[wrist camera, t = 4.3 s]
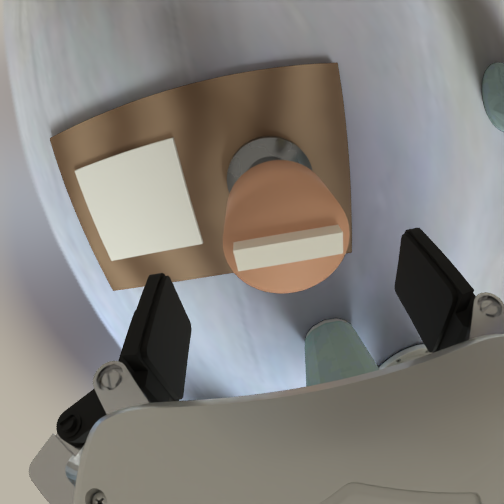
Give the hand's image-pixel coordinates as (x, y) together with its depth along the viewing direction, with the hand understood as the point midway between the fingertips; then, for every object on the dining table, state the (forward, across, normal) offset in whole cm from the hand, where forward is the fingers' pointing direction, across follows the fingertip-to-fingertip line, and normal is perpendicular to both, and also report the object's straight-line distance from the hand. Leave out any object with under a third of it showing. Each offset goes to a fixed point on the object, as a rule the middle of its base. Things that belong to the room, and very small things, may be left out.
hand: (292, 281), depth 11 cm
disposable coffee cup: (+15, -5, +23) cm, 28 cm away
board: (+16, +6, +1) cm, 17 cm away
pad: (+15, +12, +1) cm, 19 cm away
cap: (+8, 0, +1) cm, 8 cm away
